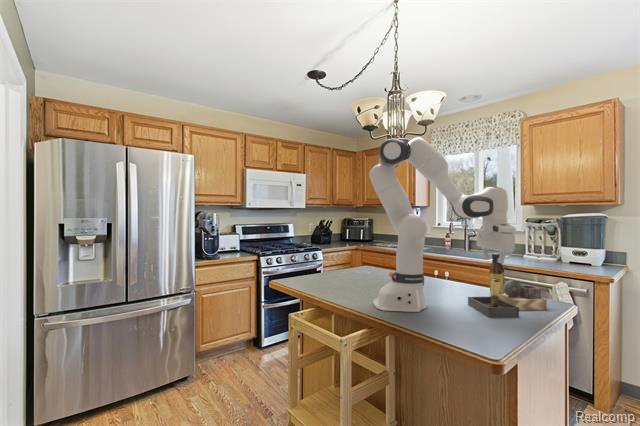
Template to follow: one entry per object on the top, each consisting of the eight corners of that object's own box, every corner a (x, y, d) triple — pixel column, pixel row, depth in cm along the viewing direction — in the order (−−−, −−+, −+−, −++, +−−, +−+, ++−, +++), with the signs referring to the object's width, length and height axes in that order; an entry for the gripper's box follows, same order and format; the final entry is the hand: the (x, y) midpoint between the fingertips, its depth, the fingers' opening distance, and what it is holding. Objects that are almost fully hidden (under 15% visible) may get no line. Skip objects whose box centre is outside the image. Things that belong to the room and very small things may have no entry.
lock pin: (493, 309, 125) (494, 280, 124) (488, 306, 128) (490, 277, 127) (500, 309, 125) (502, 280, 124) (495, 306, 128) (497, 277, 127)
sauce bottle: (506, 297, 145) (506, 254, 145) (492, 296, 147) (492, 254, 147) (501, 293, 152) (501, 253, 152) (487, 293, 153) (487, 252, 153)
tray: (518, 316, 119) (518, 307, 119) (489, 317, 119) (489, 308, 118) (494, 304, 135) (494, 296, 135) (468, 305, 134) (468, 296, 134)
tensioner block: (512, 310, 127) (512, 283, 127) (497, 302, 137) (497, 277, 137) (546, 309, 128) (546, 282, 127) (529, 302, 138) (529, 277, 137)
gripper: (473, 225, 137) (472, 256, 137) (502, 228, 116) (501, 265, 116) (487, 225, 137) (486, 257, 137) (519, 228, 116) (517, 265, 117)
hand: (493, 261), depth 126 cm, fingers open, 8 cm apart
